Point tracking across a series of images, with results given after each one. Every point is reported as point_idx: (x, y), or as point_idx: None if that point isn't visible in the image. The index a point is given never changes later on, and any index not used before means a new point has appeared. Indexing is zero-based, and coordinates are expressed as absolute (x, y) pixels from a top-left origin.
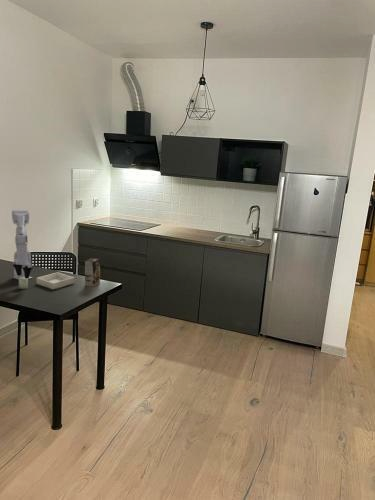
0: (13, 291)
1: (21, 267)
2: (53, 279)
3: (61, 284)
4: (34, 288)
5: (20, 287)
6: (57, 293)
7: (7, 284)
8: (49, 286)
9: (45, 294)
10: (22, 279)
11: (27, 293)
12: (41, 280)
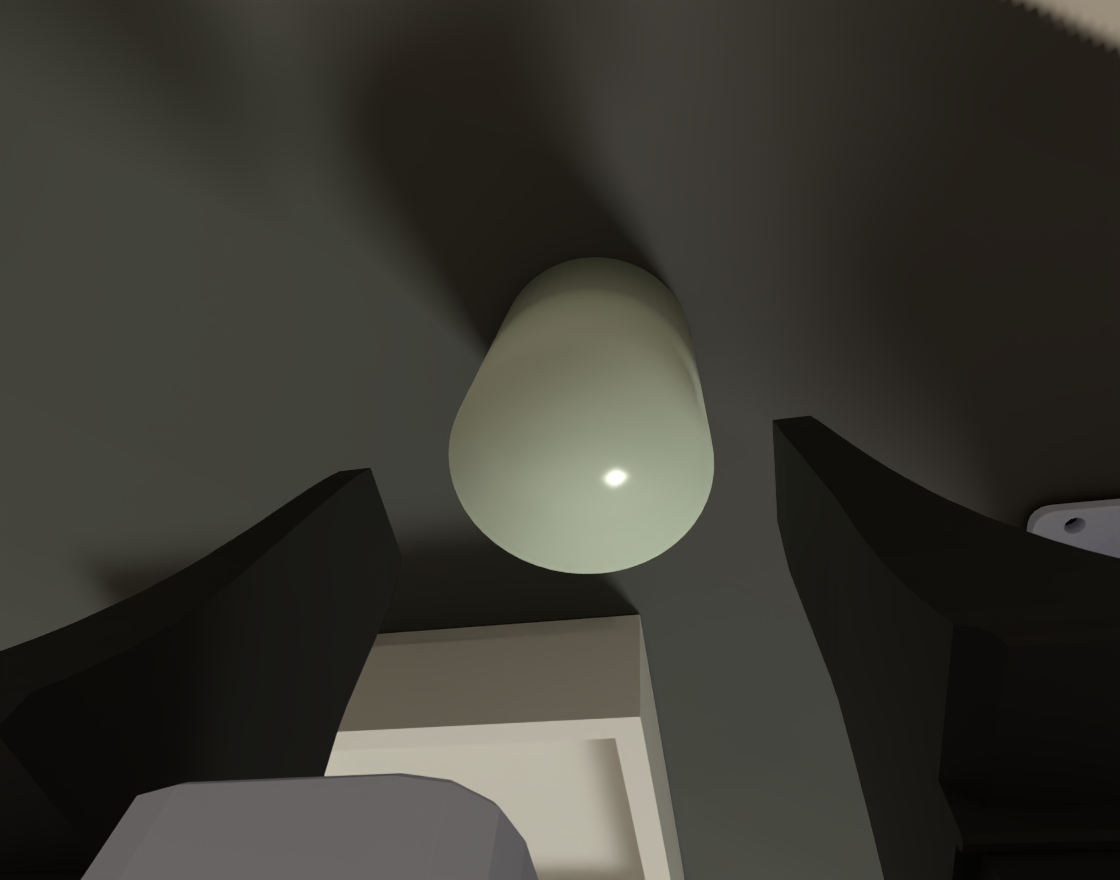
0: (468, 36)
1: (862, 782)
2: (628, 846)
3: None
4: (416, 479)
5: (553, 273)
6: (5, 612)
7: (1107, 145)
8: None
9: (10, 470)
10: (467, 400)
11: (181, 247)
12: (473, 706)
